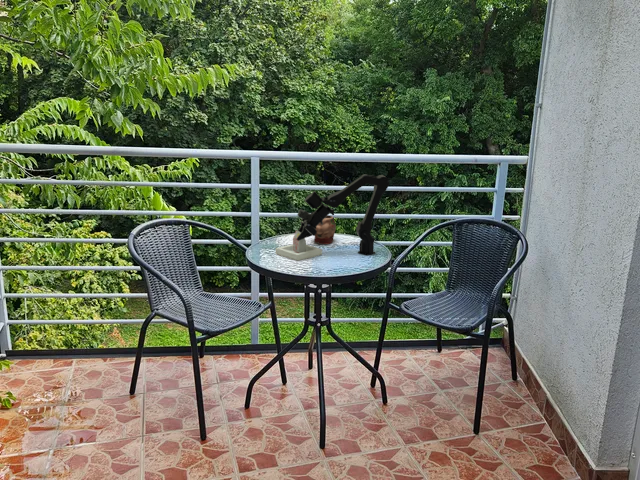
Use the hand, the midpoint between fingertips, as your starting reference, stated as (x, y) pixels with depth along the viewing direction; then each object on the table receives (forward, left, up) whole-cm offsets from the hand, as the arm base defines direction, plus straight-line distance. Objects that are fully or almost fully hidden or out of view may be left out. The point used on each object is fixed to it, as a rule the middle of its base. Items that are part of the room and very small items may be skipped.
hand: (296, 238), depth 270 cm
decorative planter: (+9, -28, -9) cm, 31 cm away
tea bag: (-1, -1, -7) cm, 7 cm away
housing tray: (-1, -1, -8) cm, 8 cm away
